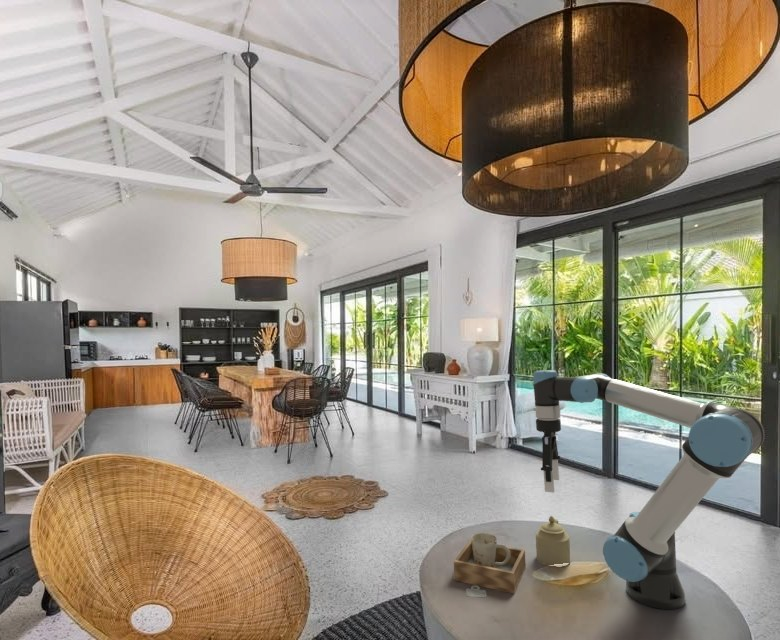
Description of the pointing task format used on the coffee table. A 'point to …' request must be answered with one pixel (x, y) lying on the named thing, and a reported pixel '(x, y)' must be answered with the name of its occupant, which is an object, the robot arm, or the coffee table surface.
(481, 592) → the mounting bracket
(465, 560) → the open wooden crate
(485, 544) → the mug
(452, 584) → the coffee table surface
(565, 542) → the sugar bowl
